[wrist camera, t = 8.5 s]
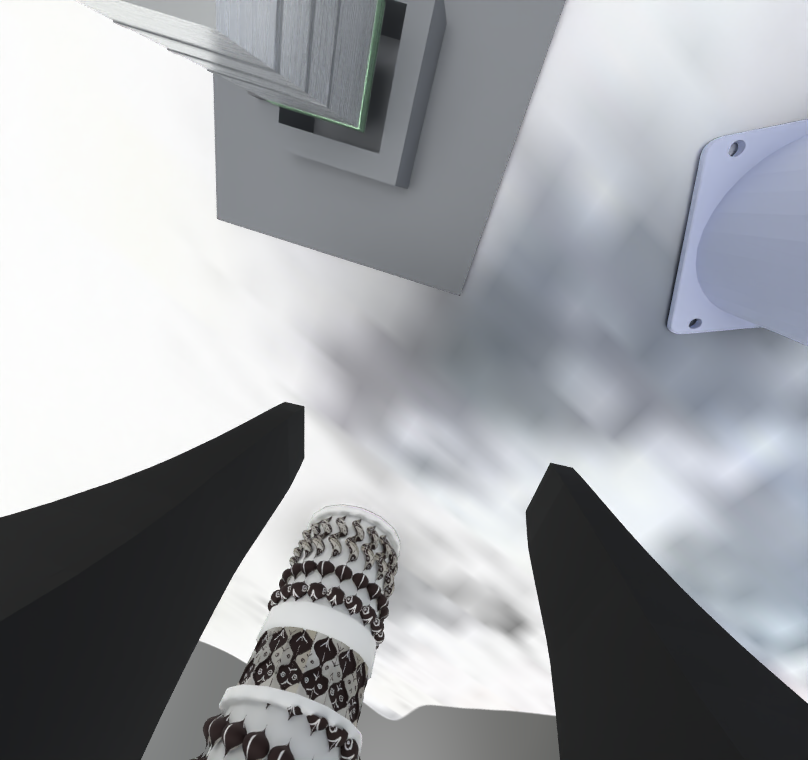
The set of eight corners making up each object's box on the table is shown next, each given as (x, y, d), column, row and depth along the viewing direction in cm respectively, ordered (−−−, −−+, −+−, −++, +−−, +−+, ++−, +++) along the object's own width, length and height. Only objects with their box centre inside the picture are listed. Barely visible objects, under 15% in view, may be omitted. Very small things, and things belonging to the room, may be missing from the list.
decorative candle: (417, 521, 26) (184, 1987, 5) (392, 581, 31) (217, 1460, 9) (310, 487, 27) (-374, 1721, 5) (301, 552, 31) (-75, 1339, 10)
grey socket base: (595, -88, 11) (669, -258, 7) (460, 291, 17) (458, 317, 13) (225, -194, 11) (89, -420, 7) (229, 218, 18) (159, 222, 14)
